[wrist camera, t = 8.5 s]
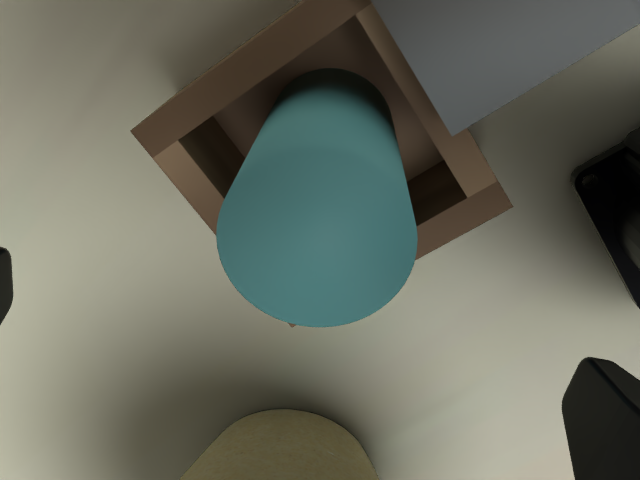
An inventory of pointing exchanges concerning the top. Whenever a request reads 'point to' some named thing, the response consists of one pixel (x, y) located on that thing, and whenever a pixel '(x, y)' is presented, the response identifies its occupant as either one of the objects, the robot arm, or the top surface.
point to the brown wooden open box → (386, 91)
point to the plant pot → (283, 450)
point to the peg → (320, 206)
